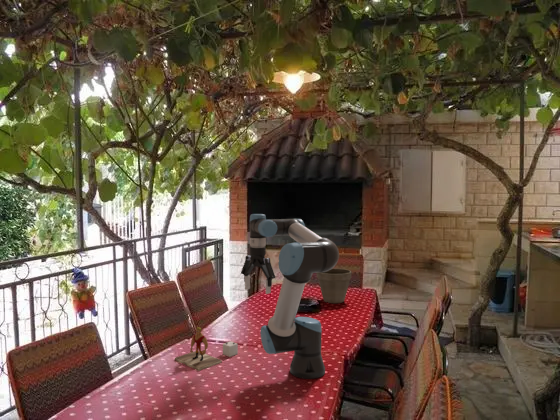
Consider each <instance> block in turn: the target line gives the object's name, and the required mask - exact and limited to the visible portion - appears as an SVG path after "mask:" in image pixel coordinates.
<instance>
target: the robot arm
mask: <svg viewBox="0 0 560 420" xmlns="http://www.w3.org/2000/svg"><path fill="white" fill-rule="evenodd" d="M276 236H277V237H278V236H283V237H284V236H288V237H290V238H291V239H293V240H294V241H295V242H291V243H290V242H289V243H286V244H284V245H283V246H282V247H281V249H280V252H279V254H278V262H277V263H278V268H279V271H280V273H281V275H282V277H283V279H282V283H281V286H280V290H279V295H278V298H277V302H276V305H275V309H274V310H275V311H274V313H273V316H271V317H270V318H269V319H268V321H267V324H266V325H262V326H261V328H260V340H261V344H262V348H263V350H264V351H265V353H266V354H267V355H273V354H274V355H276V354H282V353H288V352H293V356H292V359H291V362H290V366H289V367H290V368H289V372H290V374H291V375H292V376H294V377H296V378H299V379H305V380H311V379H313V380H314V379H319V378H321V377H323V376H324V375H325V374H326V366H325V364H324V359H323V356H322V332H323V331H322V330H323V329H322V324H321V322H320V321H319V320H318V319H316V318H314V317H310V316H309V317H308V316H297V313H298V309H299V307H300V302H301V299H302V297H303V293H304V290H305V286H306V284H308V283H309V282H310V281H311V280H312V276H313V274H317V273H320V272H326V271H329V270H331V269H332V268H335V266H337V263H338V262H339V258H340V252H339V251H340V250H339V248H338V246H337V245H336V243H335V242H334V241H332V240H330V239H329V238H327V237H321V236H320V235H318V234H317V233H315V232H314V231H312V230H311V229H309V228H308V227H306V225H305V223H304V220H302V219H301V218H281V219H279V218H276V219H275V218H274V219H273V218H271V219H270V218H269V219H267V217H266V214H263V213H252V214H250V216H249V246H250V247H249V255H245V261H244V263H243V266H242V269H241V271H240V274H241V275H243V276H244V277H243V282H244V290H246V291H247V290H250V289H251V275H250V273H251V272H252V270H253V269H254V268H255V267H258V268H260V269H261V271H262V272H263V273H262V274H264V276H265V278H266V279H265V294H266V295H268V294H271V292H272V289H271V288H272V285H273V279H276V274H275V272H274V269H273V266H272V262H271V258H270V257H267V258H266V251H267V250H266V245H267V243H266V242H267V239H266V238H267V237H268V238H271V237H276ZM296 316H297V317H296Z"/></svg>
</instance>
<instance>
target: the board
mask: <svg viewBox="0 0 560 420" xmlns="http://www.w3.org/2000/svg"><path fill="white" fill-rule="evenodd" d="M194 357H196V350H194V351H193V352H192V353H191V352H189V353H184V354H182V355H179V356H175V357H174V361H175V360H176V362H177V363H180V364H182V363H183V364H182V365H184V364H185V366H188V367H189V368H191V367H192V368H191V369H193V368H194V369H193V370H195V369H196V371H198V372H200V371H203V370H206V369H208V368H211V367H213V365H214V366H217V365H220V364H222V363H223V360H222V359H219V358H218V357H214V356H212V355H209V354H207V353H205V354H204V355H203V360H202V361H200V359H201V354H200V352H199V350H198V358H195V359H193V358H194ZM205 368H206V369H205ZM202 369H203V370H202Z"/></svg>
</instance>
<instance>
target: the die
mask: <svg viewBox="0 0 560 420" xmlns="http://www.w3.org/2000/svg"><path fill="white" fill-rule="evenodd" d="M238 345H239V343H236V342H234V341H228V342H227V341H226V342H225V343H223V344H222V355H224V356H225V357H226V356H227V357H229V358H231V357H234V356H236V355H238V354H239V352H238V351H239V346H238Z"/></svg>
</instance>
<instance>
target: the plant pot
mask: <svg viewBox="0 0 560 420" xmlns="http://www.w3.org/2000/svg"><path fill="white" fill-rule="evenodd" d="M316 278H317V280H318V283H319V284H318V285H319V288H320V292H321V296H322V300H323V301H324V302H325V303H327V302H328V303H329V304H341V303H344V302H345V301H346V297H347V293H348V290H349V289H348V288H349V285H350V281H351V279H352V271H351V270H350V269H345V268H335V267H333V268H332V269H331V270H329V271H326V272H320V273H316Z"/></svg>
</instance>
